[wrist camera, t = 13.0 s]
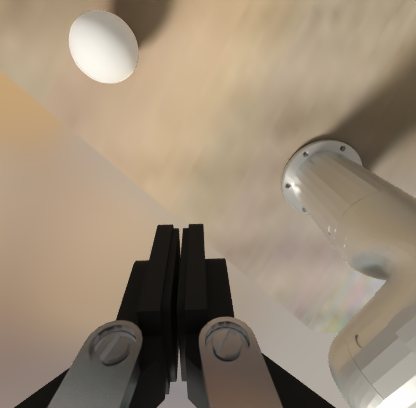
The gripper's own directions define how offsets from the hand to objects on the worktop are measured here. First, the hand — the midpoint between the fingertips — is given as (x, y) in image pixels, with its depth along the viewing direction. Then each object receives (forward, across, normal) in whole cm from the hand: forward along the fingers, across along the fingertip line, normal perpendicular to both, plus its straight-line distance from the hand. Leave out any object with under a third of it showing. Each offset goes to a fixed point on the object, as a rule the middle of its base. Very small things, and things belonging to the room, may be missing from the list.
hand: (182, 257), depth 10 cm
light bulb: (+32, +9, -8) cm, 35 cm away
